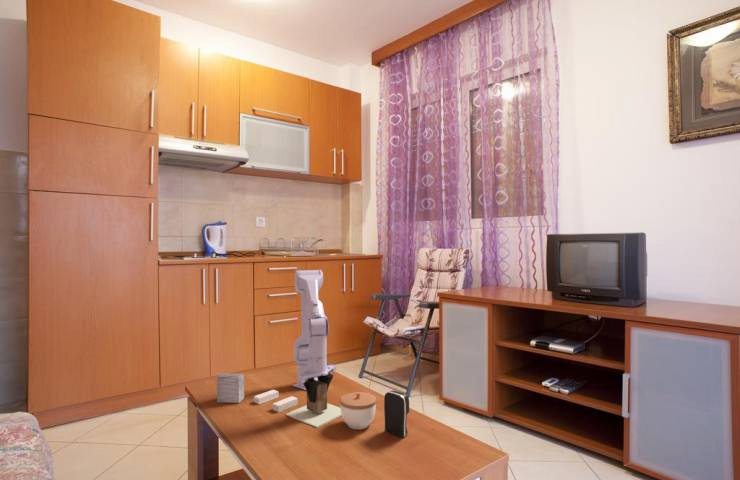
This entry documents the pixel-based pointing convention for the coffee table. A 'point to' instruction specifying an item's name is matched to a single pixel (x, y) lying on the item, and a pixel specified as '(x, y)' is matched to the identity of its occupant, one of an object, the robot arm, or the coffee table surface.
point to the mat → (316, 415)
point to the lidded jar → (358, 409)
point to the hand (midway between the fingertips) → (317, 399)
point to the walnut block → (319, 398)
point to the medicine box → (230, 388)
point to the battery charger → (396, 413)
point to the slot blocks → (278, 405)
